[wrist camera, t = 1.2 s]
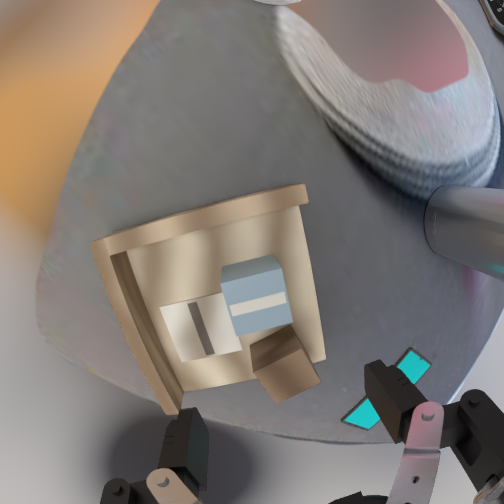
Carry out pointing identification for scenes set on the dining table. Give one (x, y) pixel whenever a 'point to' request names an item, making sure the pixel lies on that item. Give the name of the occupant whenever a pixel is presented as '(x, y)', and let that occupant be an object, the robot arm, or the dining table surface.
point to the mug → (278, 2)
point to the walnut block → (283, 364)
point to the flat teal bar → (364, 411)
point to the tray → (205, 288)
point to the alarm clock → (494, 13)
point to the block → (255, 295)
